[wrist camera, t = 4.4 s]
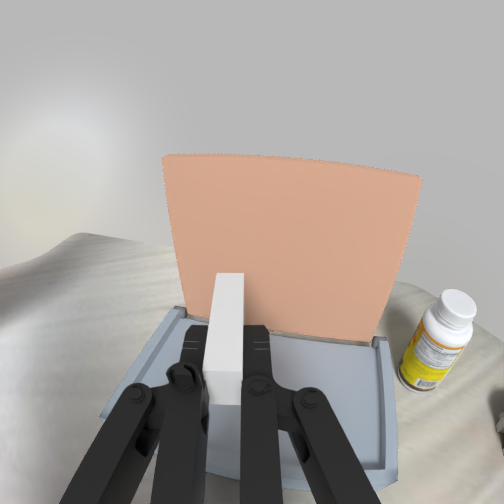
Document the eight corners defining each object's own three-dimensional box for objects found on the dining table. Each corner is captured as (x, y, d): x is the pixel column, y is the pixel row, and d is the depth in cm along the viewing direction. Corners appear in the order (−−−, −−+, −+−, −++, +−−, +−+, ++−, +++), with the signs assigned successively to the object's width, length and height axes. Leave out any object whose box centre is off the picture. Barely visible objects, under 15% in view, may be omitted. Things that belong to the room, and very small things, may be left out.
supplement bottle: (418, 349, 26) (453, 277, 21) (446, 380, 22) (492, 309, 17) (385, 368, 25) (421, 292, 20) (415, 404, 20) (466, 332, 15)
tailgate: (187, 314, 28) (161, 157, 19) (193, 305, 29) (170, 153, 20) (370, 341, 24) (422, 179, 15) (369, 331, 25) (416, 174, 17)
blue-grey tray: (117, 436, 18) (99, 416, 16) (180, 329, 30) (175, 303, 28) (376, 491, 13) (397, 480, 11) (375, 360, 26) (387, 334, 24)
